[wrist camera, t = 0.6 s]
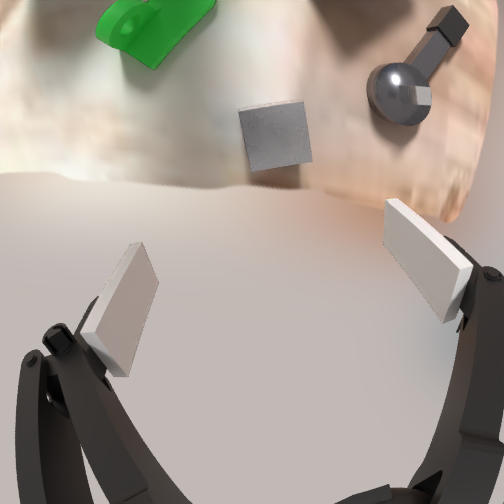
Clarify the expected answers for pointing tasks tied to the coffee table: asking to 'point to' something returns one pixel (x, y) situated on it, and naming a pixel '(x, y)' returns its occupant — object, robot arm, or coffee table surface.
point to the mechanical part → (149, 26)
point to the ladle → (414, 72)
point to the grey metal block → (276, 135)
